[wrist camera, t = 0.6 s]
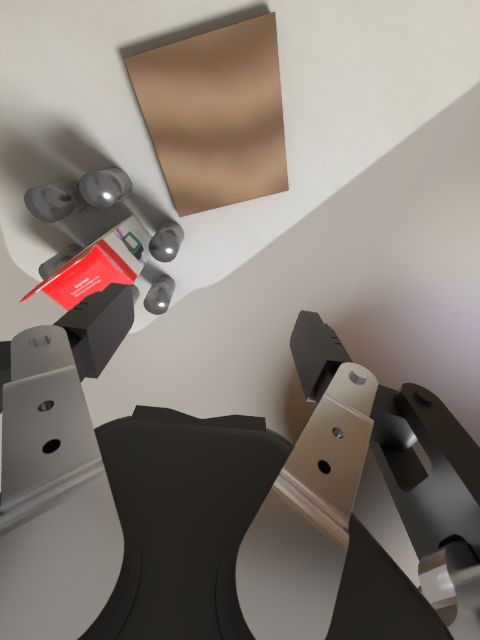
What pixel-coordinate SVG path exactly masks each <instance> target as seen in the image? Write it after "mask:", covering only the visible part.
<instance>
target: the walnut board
mask: <svg viewBox="0 0 480 640" xmlns="http://www.w3.org/2000/svg"><path fill="white" fill-rule="evenodd" d="M124 61H125V64H126V67H127V70H128V72H129V75H130V78H131V81H132V84H133V87H134V90H135V92H136V95H137V98H138V101H139V104H140V107H141V110H142V112H143V115H144V118H145V121H146V124H147V127H148V129H149V132H150V135H151V138H152V141H153V144H154V147H155V149H156V152H157V155H158V158H159V161H160V164H161V167H162V169H163V172H164V175H165V178H166V181H167V184H168V186H169V189H170V192H171V195H172V198H173V201H174V204H175V206H176V209H177V212H178V215H179V217H183V216H187V215H191V214H195V213H199V212H203V211H207V210H211V209H215V208H219V207H223V206H227V205H231V204H235V203H239V202H243V201H248V200H252V199H256V198H260V197H264V196H268V195H272V194H276V193H280V192H284V191H288V190H289V189H288V175H287V162H286V149H285V136H284V123H283V110H282V97H281V84H280V71H279V57H278V44H277V31H276V18H275V12H272V13H269V14H265V15H262V16H259V17H256V18H253V19H249V20H246V21H243V22H240V23H237V24H233V25H230V26H227V27H224V28H221V29H217V30H214V31H211V32H208V33H205V34H201V35H198V36H195V37H192V38H189V39H185V40H182V41H179V42H176V43H173V44H169V45H166V46H163V47H160V48H157V49H153V50H150V51H147V52H144V53H141V54H137V55H134V56H131V57H128V58H125V59H124Z"/></svg>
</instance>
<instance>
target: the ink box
mask: <svg viewBox="0 0 480 640" xmlns="http://www.w3.org/2000/svg"><path fill="white" fill-rule="evenodd" d="M152 238H153V237H152V236H151V235H150V234H149V233H148V232H147V230H146V229H145V228H144V227H143V226H142V225H141V223H140V222H139V221H138V220H137V219H136V217H135V216H134V215H131V216H130V217H128V218H127V219H125V220H124V221H122V222H121V223H119V224H118V225H116V226H115V227H114V228H112V229H111V230H109V231H108V232H107V233H105V234H104V235H102V236H101V237H100V238H98V239H97V240H96V241H94V242H93V243H92V244H90V245H89V246H88V247H86V248H85V249H84V250H83V251H81V252H80V253H79V254H78V255H76V256H75V257H74V258H72V259H71V260H70V261H69V262H67V263H66V264H65V265H63V266H62V267H61V268H60V269H58V270H57V271H56V272H54V273H53V274H52V275H50V276H49V277H48V278H46V279H45V280H44V281H43V282H41V283H40V284H39V285H38V286H36V287H35V288H34V289H33V290H32V291H30V292H29V293H28V294H27V295H26V296H25V297H24V298H23V299H22V300H21V301H20V303H23V302H24V301H25V300H27V299H28V298H30V297H31V296H33V295H34V294H35V293H37V292H38V291H39V290H42V291H43V292H45V293H46V294H47V295H48V296H49V297H51V298H52V299H53V300H55V301H56V302H57V303H58V304H59V305H61V306H62V307H63V308H65V309H66V310H67V311H70V310H71V309H73V307H74V306H75V305H77V304H78V303H80V301H81V300H82V299H84V298H85V297H86V296H87V295H90V294H92V293H95V292H97V291H102V290H103V289H105V288H106V287H107V286H108V285H109V284H110V283H112V282H114V283H121V284H128V285H131V284H133V283H134V281H135V279H136V278H137V276H138V275H139V273H140V272H141V270H142V268H143V267H144V265H145V264H146V262H147V261H148V259H149V257H150V256H151V253H150V251H149V242H150V240H151V239H152Z"/></svg>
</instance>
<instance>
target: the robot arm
mask: <svg viewBox="0 0 480 640" xmlns="http://www.w3.org/2000/svg"><path fill="white" fill-rule="evenodd" d="M133 322H134V305H133V293H132V287H131V285H128V284H121V283H114V282H112V283H110V284H109V285H108V286H107V287H106V288H105V289H103V290H102V291H97V292H95V293H92V294H90V295H87V296H86V297H85V298H84V299H82V300H81V301H80V303H78V304H77V305H75V306H74V307H73V309H71V310H70V311H68V312H67V313H66V314H65V315H64V316H62V317H61V318H60V319H59V320H58V321H57V322H55V323H54V324H53V325H42V326H37V327H32V328H29V329H26V330H24V331H22V332H20V333H18V334H17V335H16V336H15V337H14V338H13V339H12V340H11V341H2V342H0V414H1V412H2V473H1V474H2V475H1V477H2V478H1V481H2V482H1V493H0V640H480V447H479V446H478V445H477V444H476V443H475V441H474V440H473V439H472V438H471V437H470V436H469V434H468V433H467V432H466V430H465V429H464V428H463V427H462V426H461V424H460V423H459V422H458V421H457V419H456V418H455V417H454V416H453V415H452V413H451V412H450V411H449V410H448V409H447V407H446V406H445V405H444V404H443V402H442V401H441V400H440V399H439V398H438V397H437V396H436V395H435V394H433V393H432V392H431V391H429V390H427V389H426V388H424V387H422V386H419V385H416V384H413V383H404V384H403V385H402V386H401V387H400V389H399V390H398V391H397V390H394V389H391V388H388V387H385V386H382V385H379V384H378V381H377V379H376V377H375V376H374V375H373V374H372V373H371V372H370V371H369V370H367V369H366V368H364V367H362V366H360V365H358V364H355V363H353V361H352V360H351V358H350V356H349V355H348V353H347V352H346V350H345V348H344V346H343V345H342V343H341V341H340V340H339V339H338V336H337V335H336V333H335V331H334V330H333V329H331V328H330V327H329V326H328V325H327V324H324V323H323V321H322V320H321V318H320V316H319V314H318V313H316V312H310V311H301V312H300V313H299V315H298V318H297V321H296V324H295V326H294V330H293V332H292V335H291V339H290V348H291V351H292V355H293V358H294V362H295V365H296V369H297V372H298V375H299V378H300V382H301V385H302V389H303V392H304V395H305V398H306V401H309V402H317V405H318V406H317V408H316V409H315V411H314V413H313V415H312V417H311V418H310V420H309V422H308V424H307V426H306V427H305V429H304V431H303V433H302V434H301V436H300V438H299V440H298V441H297V443H296V445H295V446H294V445H293V444H292V443H291V442H290V441H288V440H287V439H286V438H285V437H283V436H281V435H280V434H278V433H277V432H274V431H272V430H270V429H267V428H266V422H265V418H264V417H254V416H243V415H229V416H222V417H215V418H208V419H199V418H196V417H193V416H190V415H187V414H184V413H181V412H178V411H176V410H173V409H169V408H160V407H150V406H139V405H136V408H135V410H134V412H133V415H132V416H127V417H123V418H119V419H116V420H113V421H110V422H108V423H105V424H103V425H101V426H99V427H97V428H95V429H93V425H92V421H91V418H90V414H89V411H88V407H87V404H86V400H85V397H84V393H83V390H82V386H81V382H82V381H83V379H84V378H85V377H88V378H98V377H99V375H100V374H101V372H102V370H103V369H104V368H105V366H106V365H107V363H108V362H109V360H110V359H111V357H112V356H113V354H114V353H115V351H116V350H117V348H118V347H119V345H120V344H121V342H122V341H123V339H124V338H125V336H126V335H127V333H128V332H129V330H130V329H131V327H132V325H133ZM417 440H418V441H419V443H420V444H421V446H422V447H423V449H424V451H425V452H426V454H427V456H428V457H429V459H430V461H431V466H432V471H431V474H430V476H428V474H427V472H426V470H425V469H424V467H423V465H422V464H421V462H420V460H419V458H418V456H417V455H416V453H415V451H414V450H413V448H412V445H413V444H414V443H415V442H416V441H417ZM368 444H370V446H371V449H372V451H373V454H374V456H375V458H376V461H377V463H378V465H379V468H380V470H381V472H382V475H383V477H384V479H385V482H386V484H387V486H388V489H389V491H390V493H391V496H392V498H393V500H394V503H395V505H396V507H397V510H398V512H399V514H400V517H401V519H402V521H403V524H404V526H405V529H406V531H407V533H408V536H409V538H410V540H411V543H412V545H413V547H414V550H415V552H416V554H417V557H418V559H419V561H420V562H419V565H418V576H419V581H420V586H419V587H418V588H416V586H415V585H414V584H413V583H412V581H411V580H410V579H409V578H408V577H407V576H406V575H405V573H404V572H403V571H402V570H401V569H400V567H399V566H398V565H397V564H396V563H395V562H394V561H393V559H392V558H391V557H390V556H389V555H388V554H387V552H386V551H385V550H384V549H383V548H382V547H381V545H380V544H379V543H378V542H377V541H376V540H375V538H374V537H373V536H372V535H371V534H370V533H369V531H368V530H367V529H366V528H365V527H364V526H363V525H362V523H361V522H360V521H359V520H358V519H357V517H356V516H355V515H354V514H353V513H352V508H353V503H354V500H355V496H356V491H357V488H358V484H359V480H360V476H361V472H362V468H363V464H364V460H365V456H366V452H367V448H368Z"/></svg>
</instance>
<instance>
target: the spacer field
mask: <svg viewBox="0 0 480 640" xmlns="http://www.w3.org/2000/svg"><path fill="white" fill-rule="evenodd" d="M131 192H132V182H131V180H130V178H129V176H128V175H127V174H126V173H125V172H124V171H122V170H121V169H118V168H110V169H105V170H101V171H96V172H92V173H87V174H85V175H83V176H82V177H81V179H80V182H79V185H78V184H76V183H74V182H72V181H62V182H58V183H53V184H49V185H45V186H41V187H36V188H32V189H29V190H27V191H26V193H25V195H24V201H25V204H26V206H27V208H28V210H29V211H30V212H31V213H32V214H33V215H34V216H35V217H36V218H38V219H40V220H42V221H44V222H55V221H57V220H59V219H61V218H64V217H66V216H68V215H70V214H72V213H74V212H77V211H79V210H81V209H83V208H84V207H85V206H86V204H87V202H88V203H89V204H90V205H91V206H93V207H95V208H98V209H106V208H108V207H110V206H112V205H114V204H116V203H117V202H119V201H121V200H123V199H125V198H126V197H128V196H129V195H130V194H131ZM183 238H184V232H183V229H182V228H181V226H180V225H179V224H177V223H175V222H172V221H169V222H165V223H164V224H163V225H162V226H161V227H160V229H159V230H158V231H157V232H156V234H155V235H154V236H153V238H152V239H151V240H150V242H149V251H150V253H151V255H152V256H153V257H154V258H155V259H156V260H158V261H160V262H170V261H172V260H173V259H174V258H175V257H176V255H177V252H178V250H179V248H180V245H181V243H182V241H183ZM83 250H84V248H82V247H80V246H77V245H71V246H69V247H67V248H65V249H64V250H62V251H61V252H59V253H58V254H56V255H55V256H53V257H52V258H50V259H49V260H47V261H46V262H44V263H43V264H41V265H40V267H39V274H40V276H41V277H42V279H43V280H45V279H46V278H48V277H49V276H50V275H52V274H53V273H54V272H56V271H57V270H58V269H60V268H61V267H62V266H63V265H65V264H66V263H67V262H69V261H70V260H71V259H72V258H74V257H75V256H76V255H78V254H79V253H80V252H81V251H83ZM131 287H132V293H133V305H134V304H135V303H136V301H137V299H138V297H139V290H138V289H137V287H136V286H134V285H133V284H131ZM174 289H175V282H174V280H173V279H172V278H171V277H170V276H168V275H159V276H157V277H156V278H155V280H154V282H153V284H152V286H151V288H150V290H149V292H148V294H147V296H146V298H145V300H144V307H145V309H146V310H147V311H148V312H150V313H152V314H156V315H160V314H163V313H165V312H166V311H167V309H168V306H169V303H170V300H171V297H172V295H173V292H174Z"/></svg>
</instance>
